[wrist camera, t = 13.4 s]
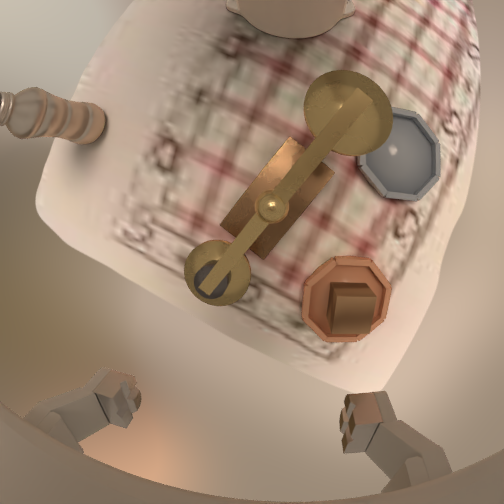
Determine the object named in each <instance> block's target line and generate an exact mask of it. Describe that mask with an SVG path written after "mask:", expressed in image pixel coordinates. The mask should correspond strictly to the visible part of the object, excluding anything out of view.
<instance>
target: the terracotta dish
mask: <svg viewBox="0 0 504 504" xmlns="http://www.w3.org/2000/svg"><path fill="white" fill-rule="evenodd" d="M330 282H350V283H366V284H367V285H368V286H369V287H370V289H371V290H372V291H373V292H374V294H375V295H376V296H377V300H376V305H375V311H374V316H373V320H372V325H371V330H370V332H371V331H372V330H374V329H375V328H376V327H377V326H379V325H380V324H381V323H382V322H383V321H384V319H386V315H387V310H388V305H389V300H390V295H391V290H392V288H391V287H390V286H391V284H390V283H389V282H388V280H387V279H386V278H385V276H384V275H383V274H382V272H381V271H380V270H379V268H378V267H377V266H376V265H375V263H374V262H373V261H372V260H371V259H369V258H363V257H356V256H342V257H341V256H335V258H333V257H332V258H331V259H330V260H328V261H327V262H325V263H324V264H322V265H321V266H320V267H318V268H317V269H316V270H315V271H314V272H313V274H312V275H311V276H310V277H309V278H308V279H306V283H304V292H303V304H302V318H303V321H304V322H305V323H306V324H307V325H308V326H309V327H310V328H311V329H312V330H313V331H314V332H315V333H316V334H317V335H318V336H319V337H320V338H321V339H322V340H323V341H324V340H325V341H326V342H357V339H358V341H360V340H361V339H362V338H364V337H365V336H366V335H367V334H331V330H330V327H329V323H328V320H327V317H326V314H327V307H328V299H329V291H330Z"/></svg>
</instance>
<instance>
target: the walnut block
mask: <svg viewBox="0 0 504 504" xmlns="http://www.w3.org/2000/svg"><path fill="white" fill-rule="evenodd" d="M376 300H377V296H376V295H375V294H374V292H373V291H372V290H371V289H370V287H369V286H368V285H367V284H366V283H350V282H330V291H329V299H328V307H327V314H326V317H327V320H328V323H329V327H330V330H331V334H370V330H371V325H372V320H373V316H374V311H375V305H376Z"/></svg>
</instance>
